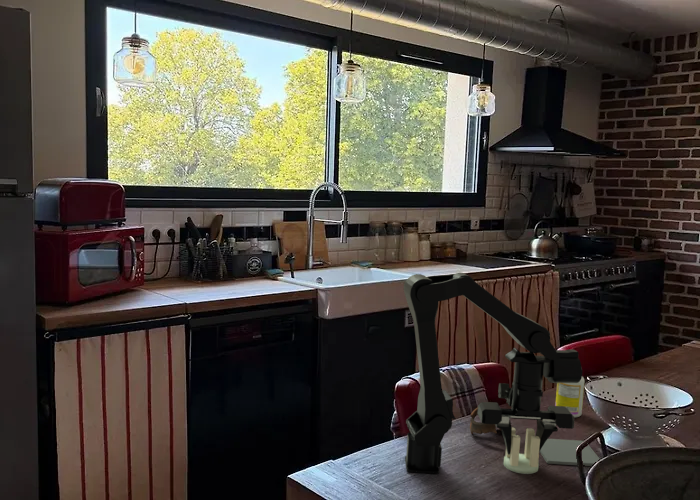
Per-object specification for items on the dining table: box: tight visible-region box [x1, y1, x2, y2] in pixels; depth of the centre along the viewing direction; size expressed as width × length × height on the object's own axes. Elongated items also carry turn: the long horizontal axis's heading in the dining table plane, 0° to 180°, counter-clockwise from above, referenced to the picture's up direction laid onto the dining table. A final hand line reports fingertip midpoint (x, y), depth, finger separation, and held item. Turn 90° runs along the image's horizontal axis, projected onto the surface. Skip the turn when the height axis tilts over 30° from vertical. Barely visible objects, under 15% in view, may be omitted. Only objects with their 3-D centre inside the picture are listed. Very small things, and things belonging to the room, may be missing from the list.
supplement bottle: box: [554, 366, 585, 418], centre depth 165 cm, size 7×7×13 cm
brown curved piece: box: [469, 407, 513, 435], centre depth 150 cm, size 12×10×8 cm
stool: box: [503, 427, 540, 475], centre depth 133 cm, size 7×7×7 cm
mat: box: [539, 438, 601, 467], centre depth 141 cm, size 12×12×1 cm
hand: (521, 454), depth 133 cm, fingers closed on stool, 5 cm apart
